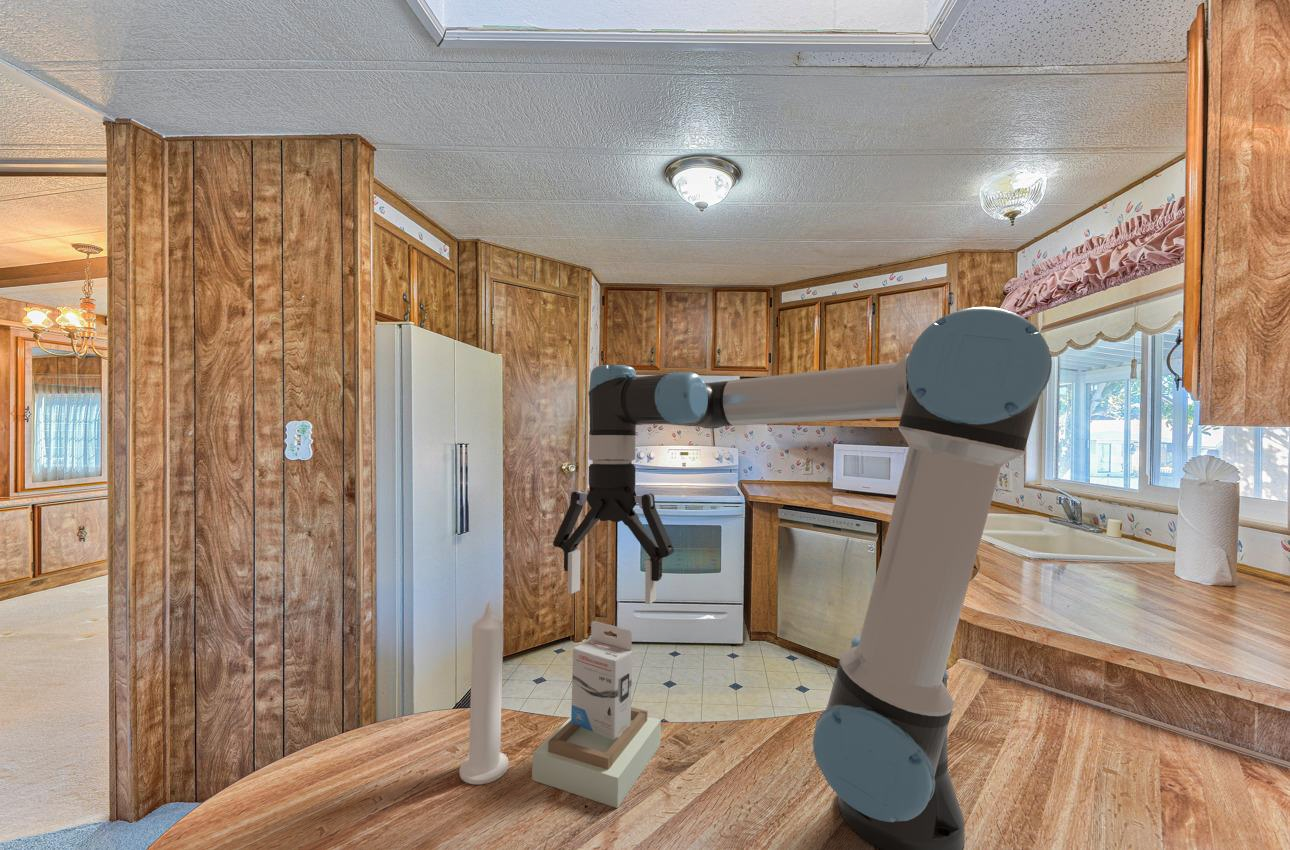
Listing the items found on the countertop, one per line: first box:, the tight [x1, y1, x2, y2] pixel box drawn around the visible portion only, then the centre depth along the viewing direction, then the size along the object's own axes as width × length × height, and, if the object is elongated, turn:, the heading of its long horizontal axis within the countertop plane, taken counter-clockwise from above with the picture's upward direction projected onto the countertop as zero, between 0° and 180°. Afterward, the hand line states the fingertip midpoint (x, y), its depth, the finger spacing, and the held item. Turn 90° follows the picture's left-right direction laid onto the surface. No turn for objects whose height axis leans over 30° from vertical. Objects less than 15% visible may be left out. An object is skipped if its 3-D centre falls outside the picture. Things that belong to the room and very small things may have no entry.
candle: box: [458, 601, 510, 785], centre depth 77 cm, size 7×7×25 cm
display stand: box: [531, 706, 662, 809], centre depth 79 cm, size 14×16×6 cm
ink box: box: [570, 620, 633, 740], centre depth 79 cm, size 9×5×15 cm, turn 58°
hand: (611, 596), depth 80 cm, fingers open, 13 cm apart
